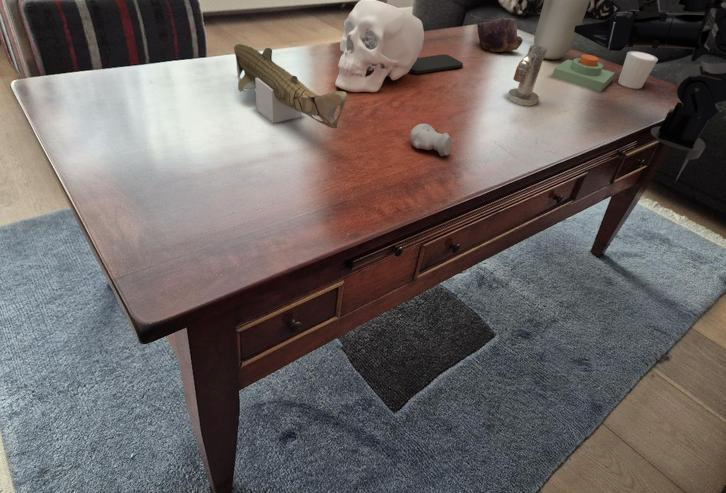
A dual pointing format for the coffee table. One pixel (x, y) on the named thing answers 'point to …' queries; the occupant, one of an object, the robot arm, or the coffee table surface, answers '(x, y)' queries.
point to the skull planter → (377, 45)
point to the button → (589, 60)
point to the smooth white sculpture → (430, 139)
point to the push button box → (583, 74)
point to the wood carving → (283, 90)
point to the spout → (528, 62)
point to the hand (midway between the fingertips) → (579, 27)
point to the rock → (499, 34)
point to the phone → (435, 64)
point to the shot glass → (636, 69)
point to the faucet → (527, 87)
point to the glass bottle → (559, 26)
